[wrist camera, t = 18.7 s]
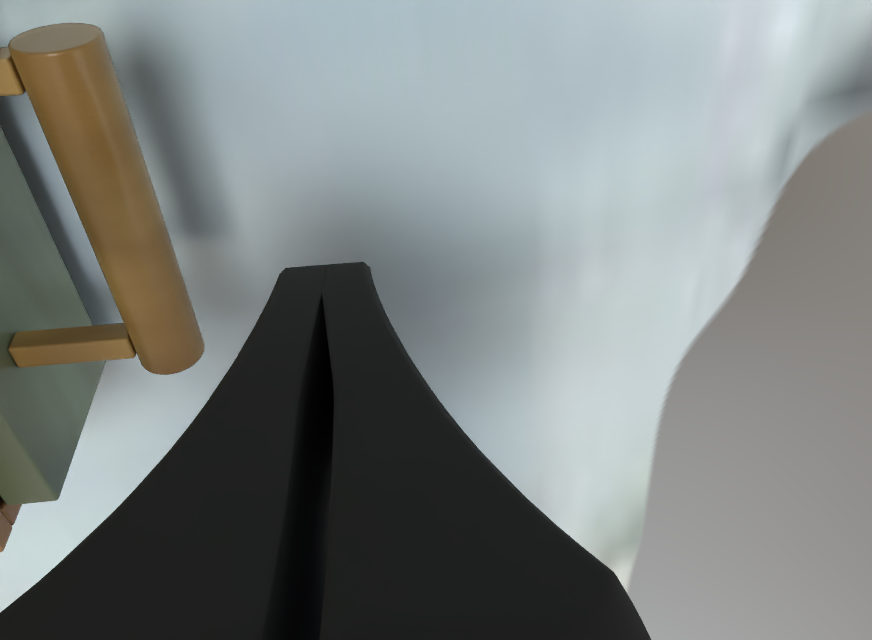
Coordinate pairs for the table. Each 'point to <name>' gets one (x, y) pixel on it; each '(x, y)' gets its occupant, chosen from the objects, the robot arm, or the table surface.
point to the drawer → (46, 272)
